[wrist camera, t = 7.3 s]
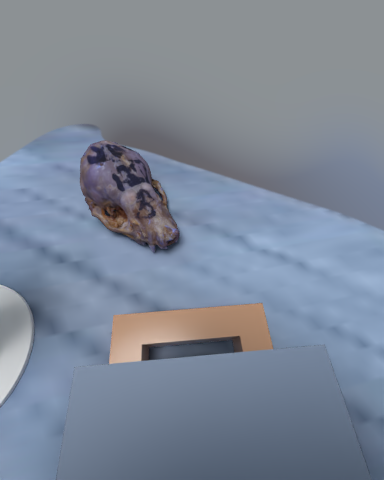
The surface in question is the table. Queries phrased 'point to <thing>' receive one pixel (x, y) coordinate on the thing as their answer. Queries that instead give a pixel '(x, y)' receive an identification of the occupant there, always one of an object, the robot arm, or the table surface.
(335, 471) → the post
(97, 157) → the skull
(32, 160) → the table surface
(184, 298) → the table surface
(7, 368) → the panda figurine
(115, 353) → the frame
